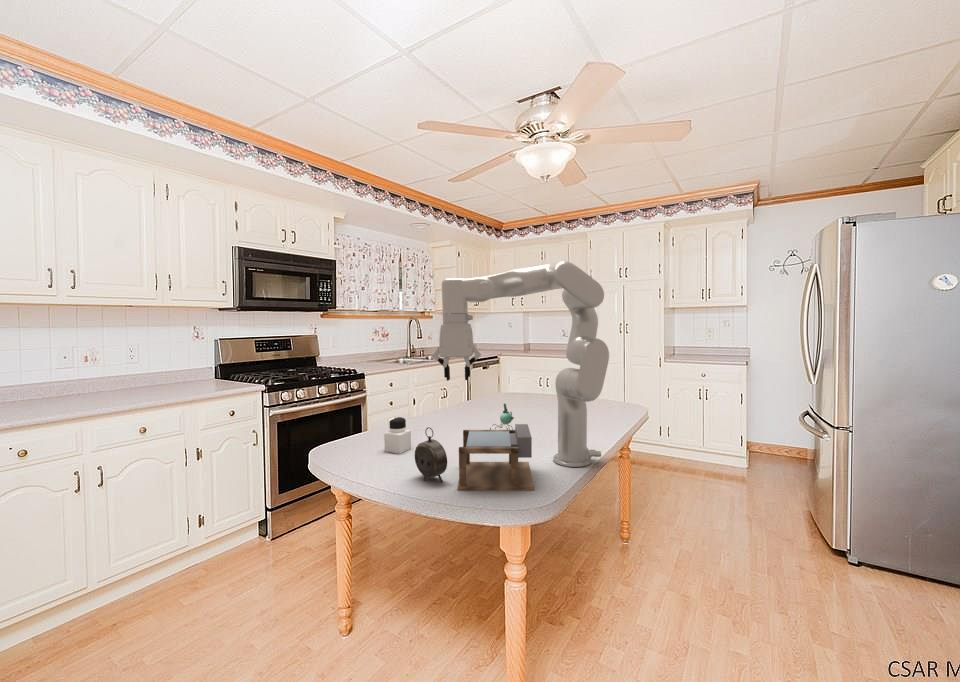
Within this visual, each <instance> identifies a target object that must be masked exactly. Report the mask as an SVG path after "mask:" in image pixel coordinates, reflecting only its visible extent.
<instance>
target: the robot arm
mask: <svg viewBox="0 0 960 682" xmlns="http://www.w3.org/2000/svg"><path fill="white" fill-rule="evenodd" d="M562 289H563V290H562ZM553 290H562V293H561V296H562V302H563V303H564V305H565V306H566V307H567V309H568V310H569V312H570V315H571V328H570V332H569V337H568V341H567V344H566V346H567V347H566V352H565V356H566V359H567V360H568V361H569V362H570V363H571V364H573V365H578V366H579V368H574V367H567V368H564V369H562V370H560V371H559V372H558V374H557V375H556V377H555V383H554V384H555V392H556V398H557V453H555V454H554V455H553V458H552V459H553V462H554V463H556V464H557V465H560V466H563V467H569V468H570V467H571V468H582V467H587V466H588V465H590V464H591V463H592V457H594V458H601V457H602V451H601V450H596V449H589V448H588V445H587V443H588V441H587V438H588V437H587V434H588V429H587V428H588V423H587V422H588V409H587V403H588V402H593V401H595V400H596V399H598V398H599V397H600V395H601V393H602V391H603V387H604V383H605V380H606V375H607V370H608V365H609V361H610V351H609V347H608V345H607V343H606V342H604V340H602V339H599V338H597V333H598V328H599V318H598V317H599V316H598V314H597V311H596V309H595V308H598V307H599V306H600V305H602V303H603V301H604V299H605V290H604V289H603V287H602V285H601V284H600V283H599V282H598V281H597V280H596V279H594V278H593V277H592V276H590V275H589V274H588V273H586V271H584V270H582V268H580V267H578V266H577V265H576V264H574V263H573V262H571V261H567V260H560V261H556V262H551V263H545V264H540V265H534V266H525V267H520V268H516V269H511V270H507V271H505V272H500V273H496V274H492V275H486V276H478V277H470V278H463V277H447V278H444V279H443V280H442V281H441V301H442V302H441V303H442V305H441V306H442V324H440V329H439V330H440V331H439V339H438V341H439V345H438V347H437V348H436V350H435V351H434V353H433V354H432V356H431V357H432V358H433V359H434V360H436V361H437V362H438V363H439V364H440V365H441V366H442V368H444V369H443V371H444V372H443V373H444V378H446V381H447V382H448V381H450V379H451V370H450V365H449V361H450V358H454V359H455V358H463V359H464V362H465V365H464V380H465V381H468V380H469V378H470V377H471V366H472V364H474V363H475V362H476V361H477V360H478V359H479V358H480V357H481V356H482V354H481V352H480V351H479V350H478V349H477V348H476V346H475V345H474V337H473V336H474V335H473V330H472V324H471V323H469V321H473V319H474V318H473V317H474V315H473V314H469V313H468V312H469V311H468V310H469V308H468V305H469V304H468V303H483V302H487V301H490V300H493V299H498V298H499V299H500V298H506V297H508V298H510V297H511V298H512V297H514V298H515V297H521V296H527V295H532V294H537V293H542V292H547V291H548V292H549V291H553ZM473 354H474V356H473Z"/></svg>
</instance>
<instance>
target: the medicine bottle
mask: <svg viewBox="0 0 960 682" xmlns="http://www.w3.org/2000/svg"><path fill="white" fill-rule="evenodd" d="M406 422H407V420H406V418H404V417H399V416H398V417H397V416H396V417H391V418H390V419H389V420H388V429H389V430H387V431H385V432H384V433H383V438H384V445H383V446H384V452H385V453H393V454H396V455H397V454H400V455H401V454H403V453H405V452H407V451H409V450H410V449H412V433H411V432H412V431H411V429H406V428H407V426H406V425H407V424H406Z"/></svg>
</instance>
